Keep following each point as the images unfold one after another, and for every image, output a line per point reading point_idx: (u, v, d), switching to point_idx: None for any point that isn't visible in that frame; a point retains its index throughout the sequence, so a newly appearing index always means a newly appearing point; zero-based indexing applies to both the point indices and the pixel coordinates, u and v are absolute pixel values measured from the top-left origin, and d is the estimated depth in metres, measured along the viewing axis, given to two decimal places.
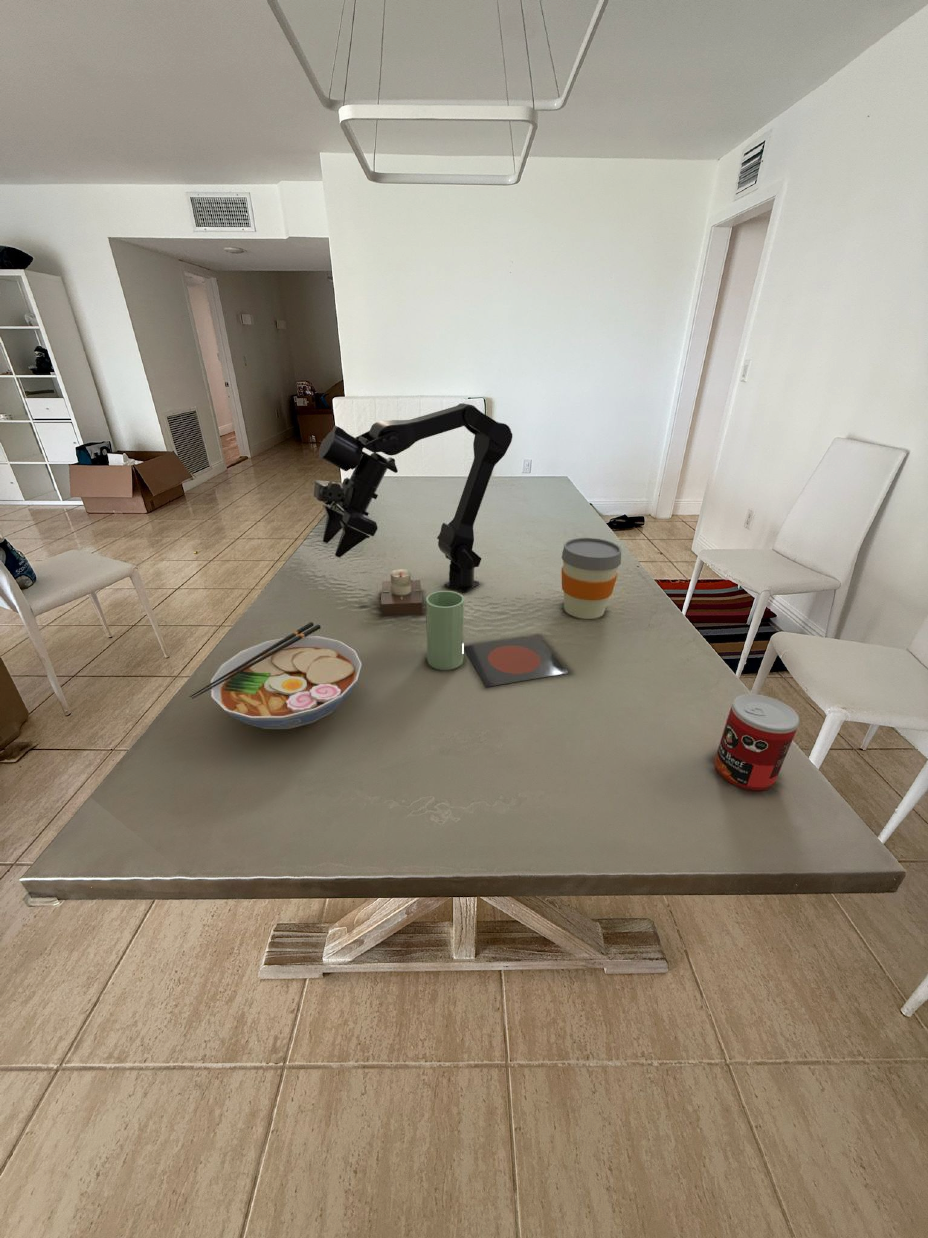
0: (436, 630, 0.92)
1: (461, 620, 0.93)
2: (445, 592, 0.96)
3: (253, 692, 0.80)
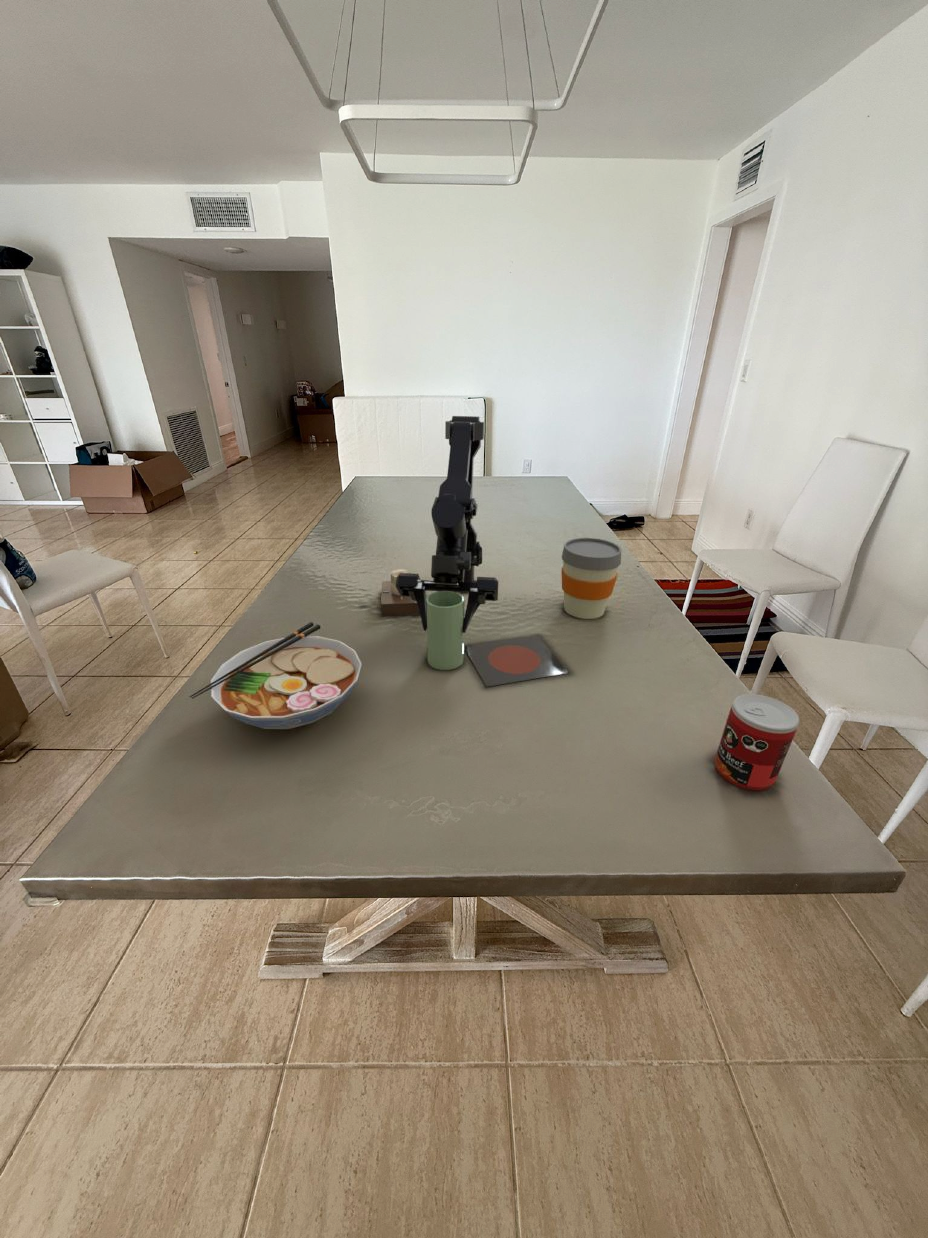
0: (436, 630, 0.92)
1: (461, 620, 0.93)
2: (445, 592, 0.96)
3: (253, 692, 0.80)
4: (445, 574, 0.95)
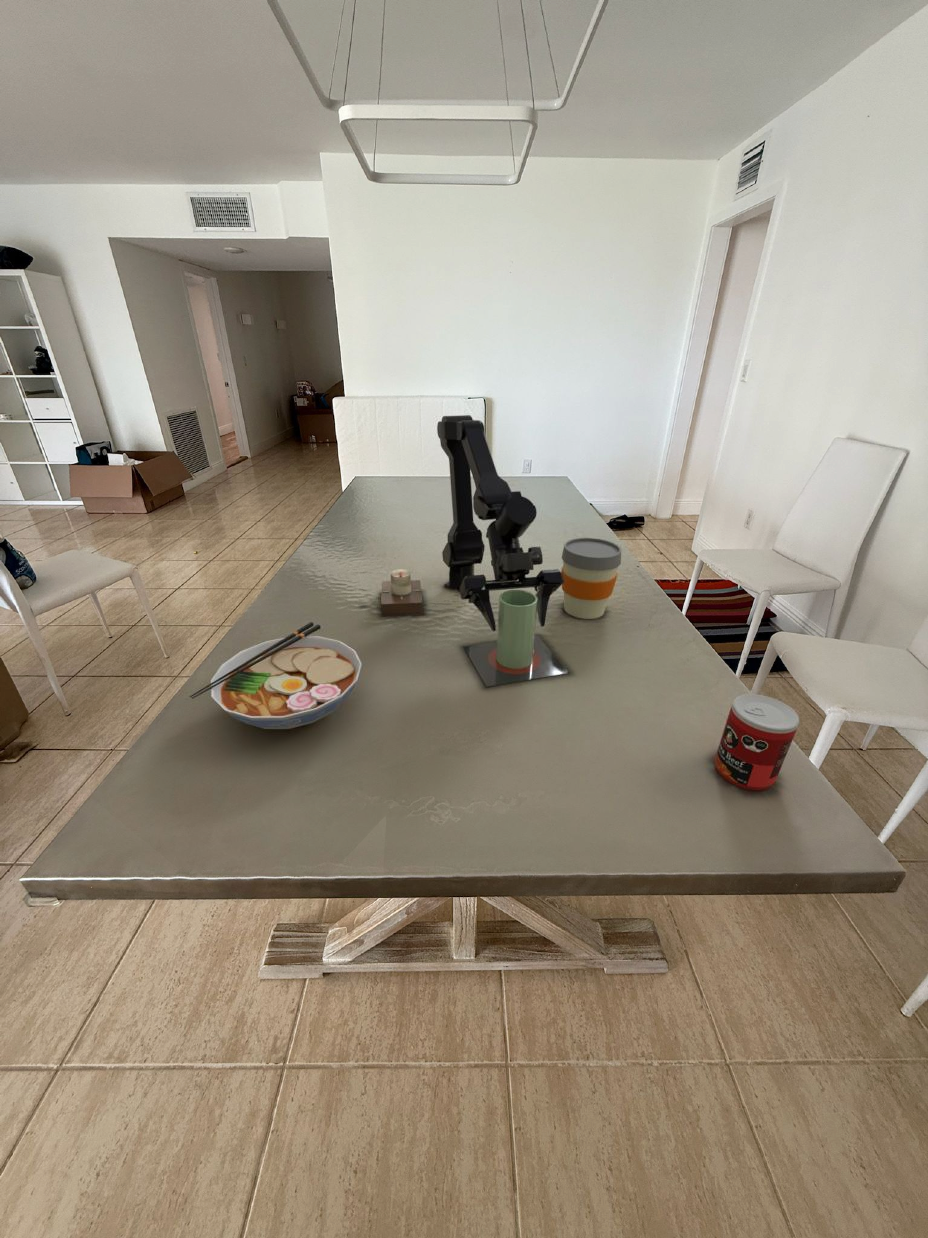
0: (516, 630, 0.92)
1: None
2: (511, 591, 0.96)
3: (253, 692, 0.80)
4: (512, 571, 0.94)
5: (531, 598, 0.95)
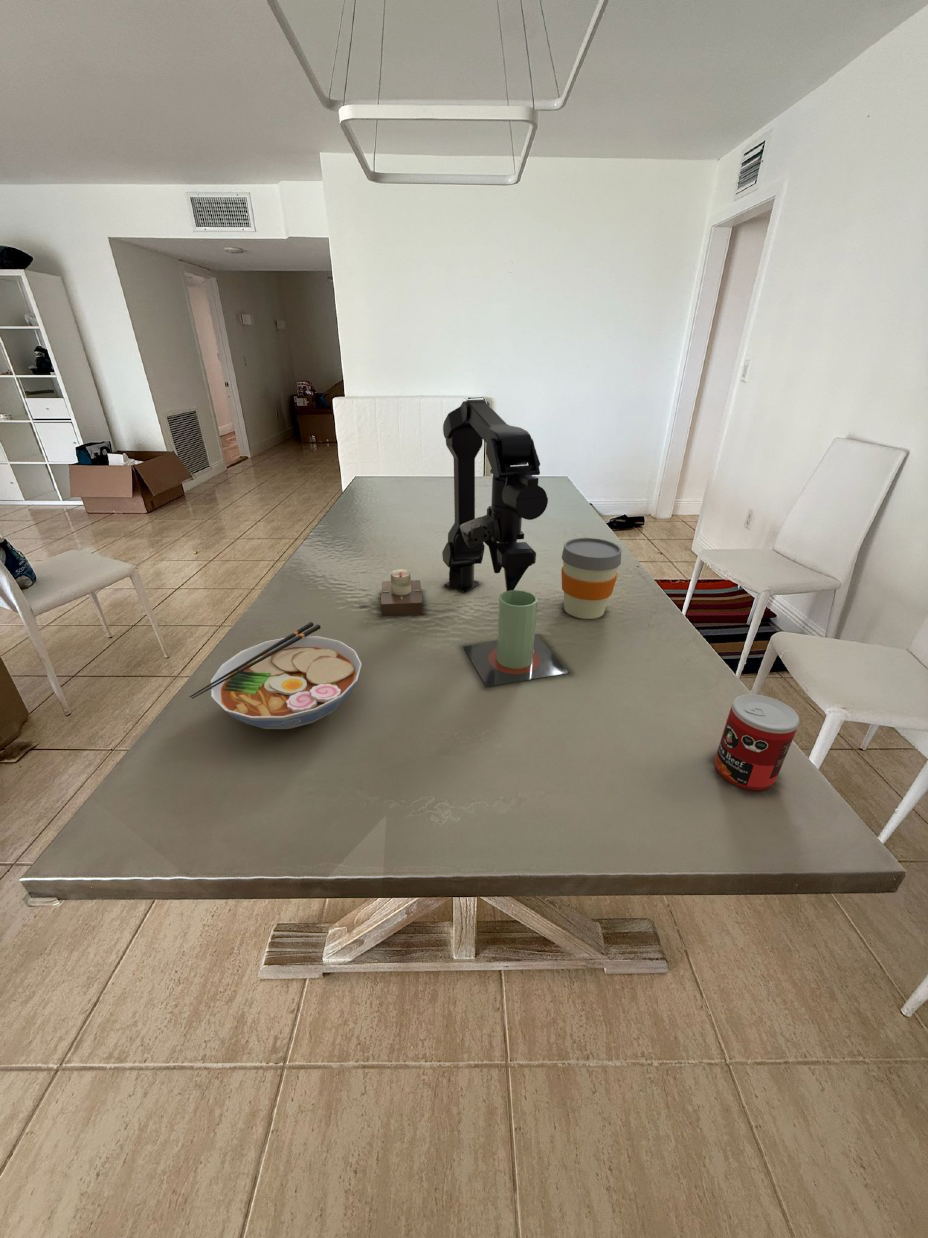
0: (516, 630, 0.92)
1: None
2: (511, 591, 0.96)
3: (253, 692, 0.80)
4: None
5: (531, 598, 0.95)
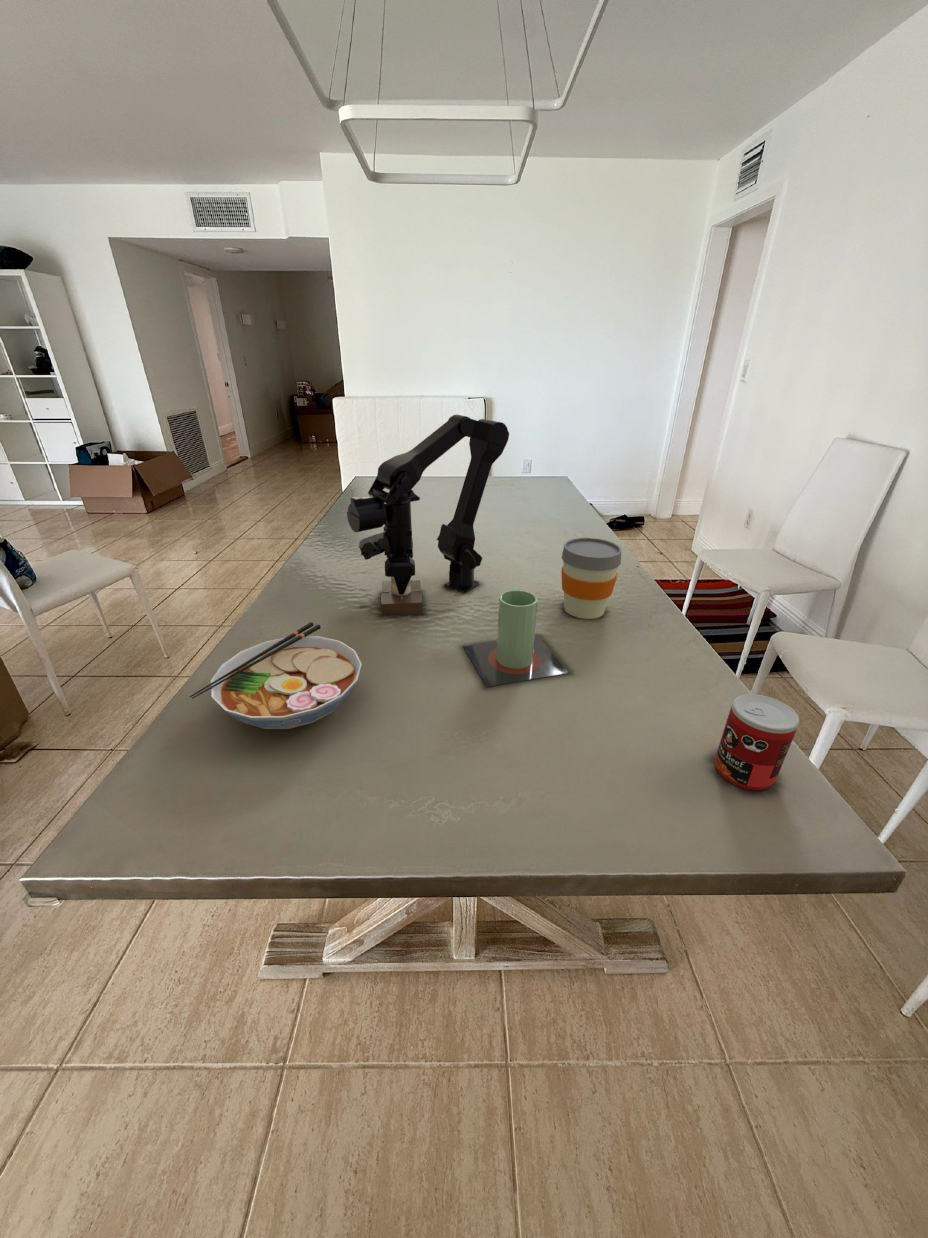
0: (516, 630, 0.92)
1: None
2: (511, 591, 0.96)
3: (253, 692, 0.80)
4: None
5: (531, 598, 0.95)
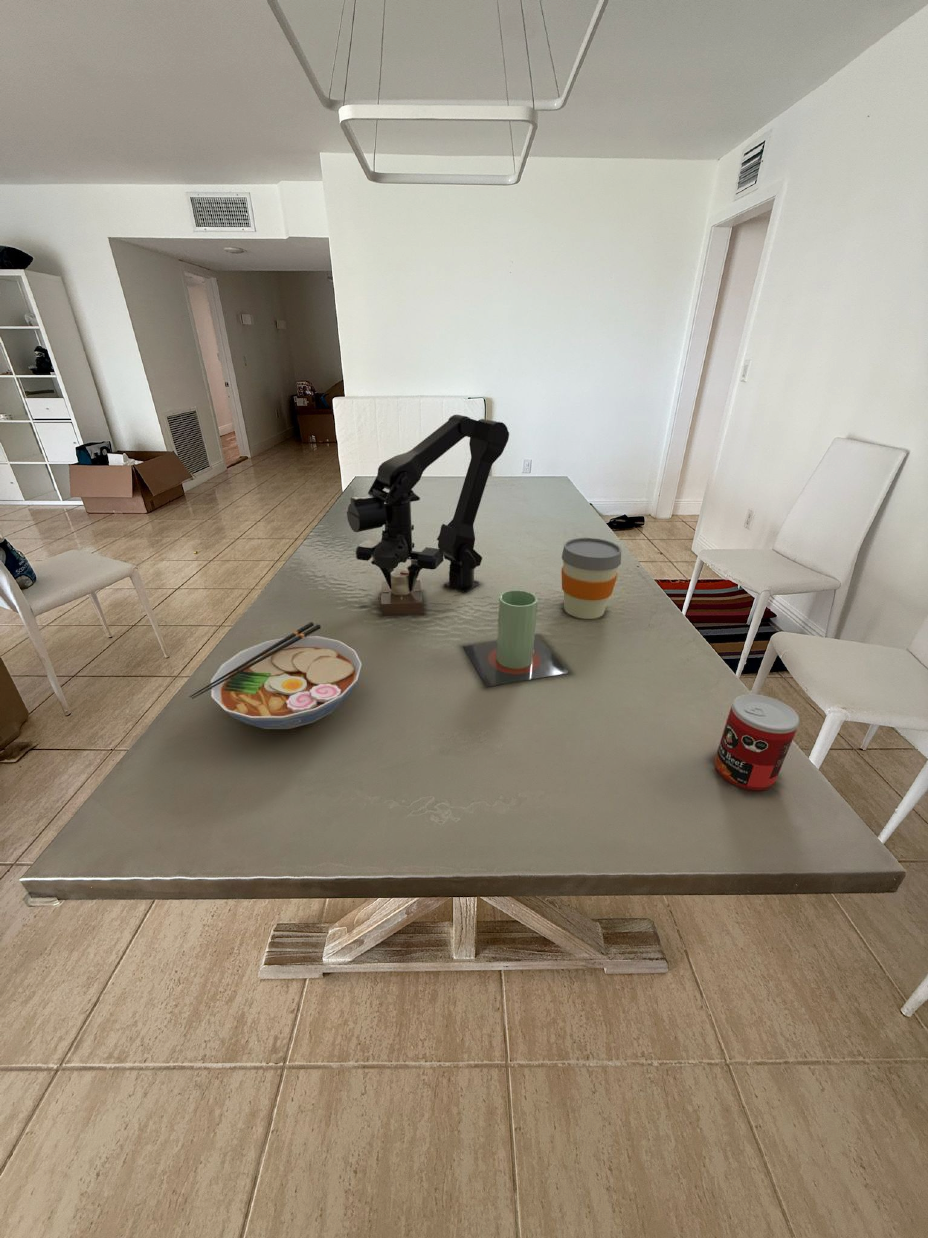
0: (516, 630, 0.92)
1: None
2: (511, 591, 0.96)
3: (253, 692, 0.80)
4: None
5: (531, 598, 0.95)
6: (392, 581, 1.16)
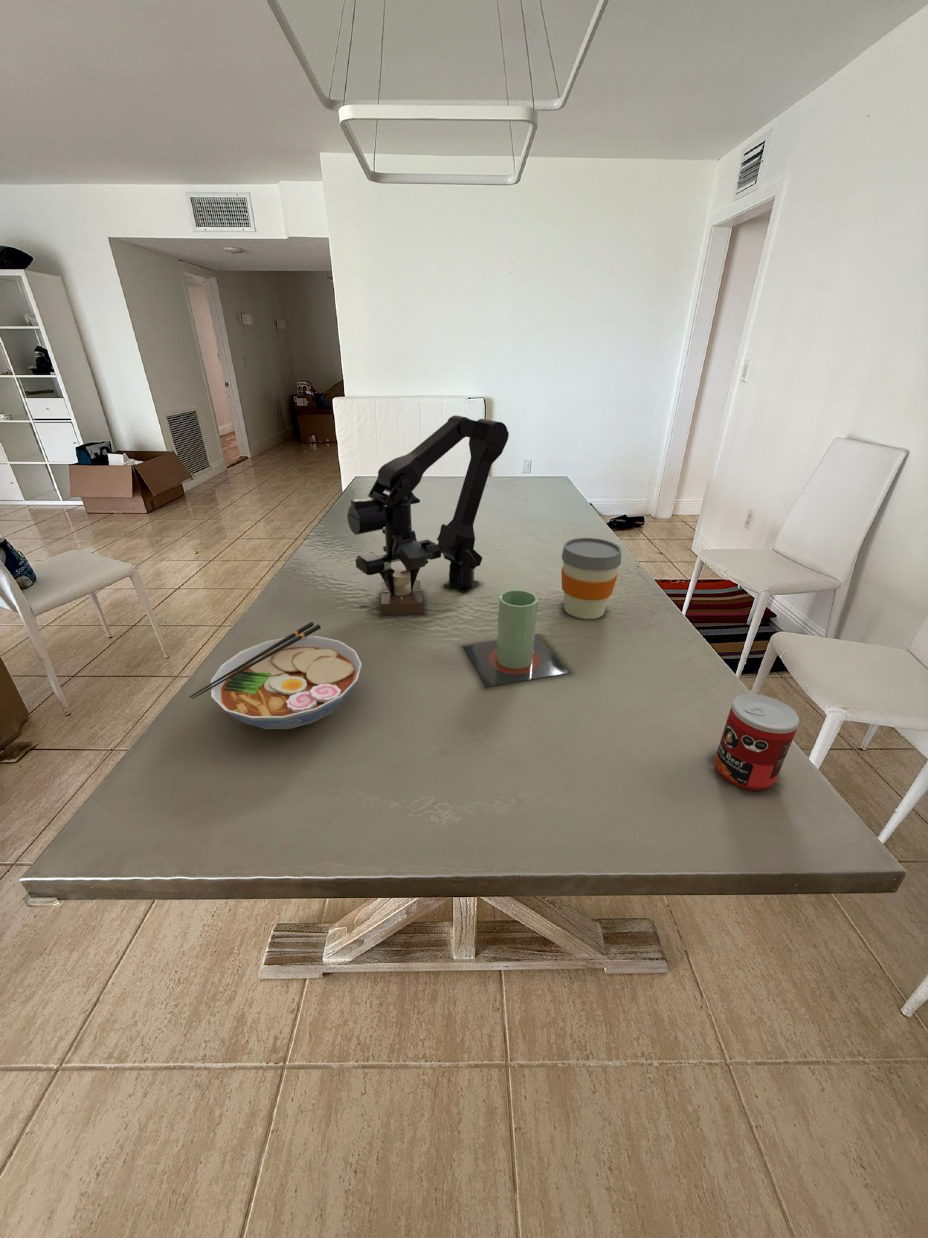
0: (516, 630, 0.92)
1: None
2: (511, 591, 0.96)
3: (253, 692, 0.80)
4: None
5: (531, 598, 0.95)
6: (400, 583, 1.15)
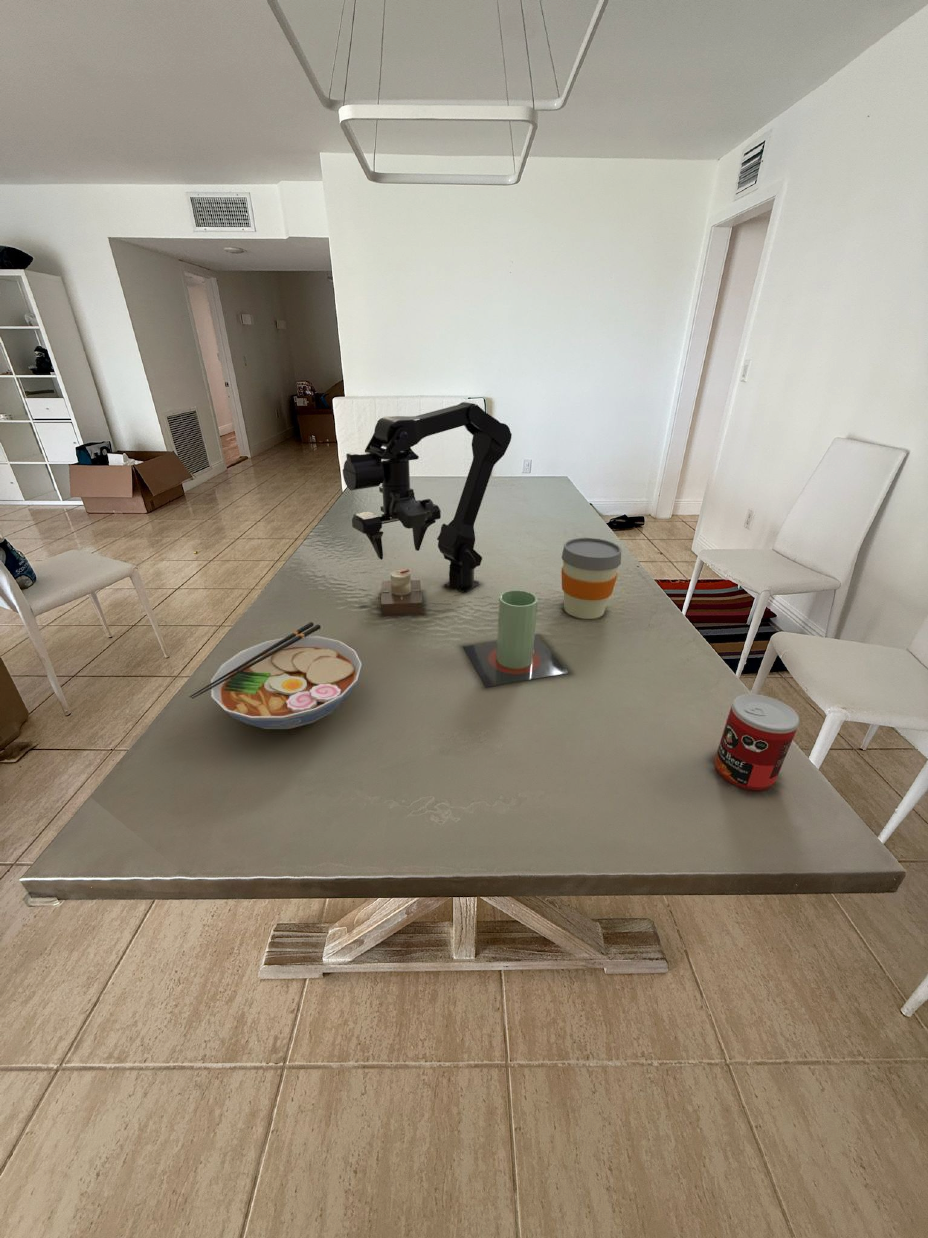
0: (516, 630, 0.92)
1: None
2: (511, 591, 0.96)
3: (253, 692, 0.80)
4: None
5: (531, 598, 0.95)
6: (400, 583, 1.15)
